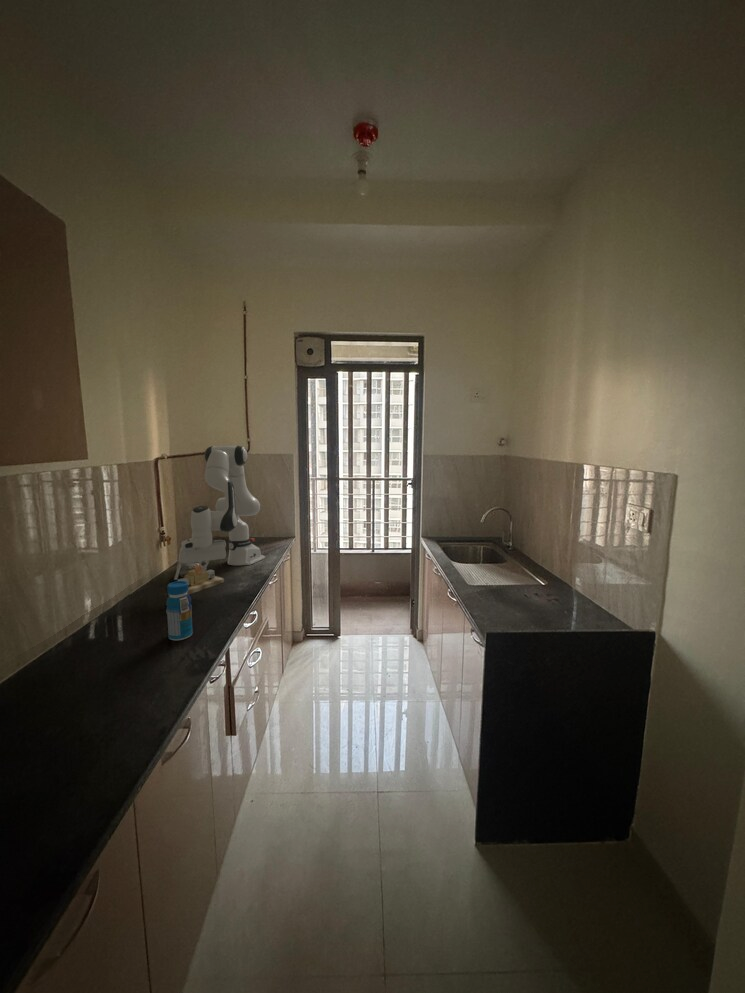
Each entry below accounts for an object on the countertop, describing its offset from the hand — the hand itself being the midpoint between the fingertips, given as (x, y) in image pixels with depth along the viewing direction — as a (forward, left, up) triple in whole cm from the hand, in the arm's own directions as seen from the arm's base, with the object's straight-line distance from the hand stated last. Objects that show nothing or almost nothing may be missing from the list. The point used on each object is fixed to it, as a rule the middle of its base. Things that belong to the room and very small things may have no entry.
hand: (203, 569), depth 185 cm
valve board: (-3, -10, -11) cm, 15 cm away
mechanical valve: (-3, -22, -11) cm, 25 cm away
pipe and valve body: (-3, -10, -9) cm, 13 cm away
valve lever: (0, -5, -2) cm, 5 cm away
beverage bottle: (+31, +29, -11) cm, 44 cm away
